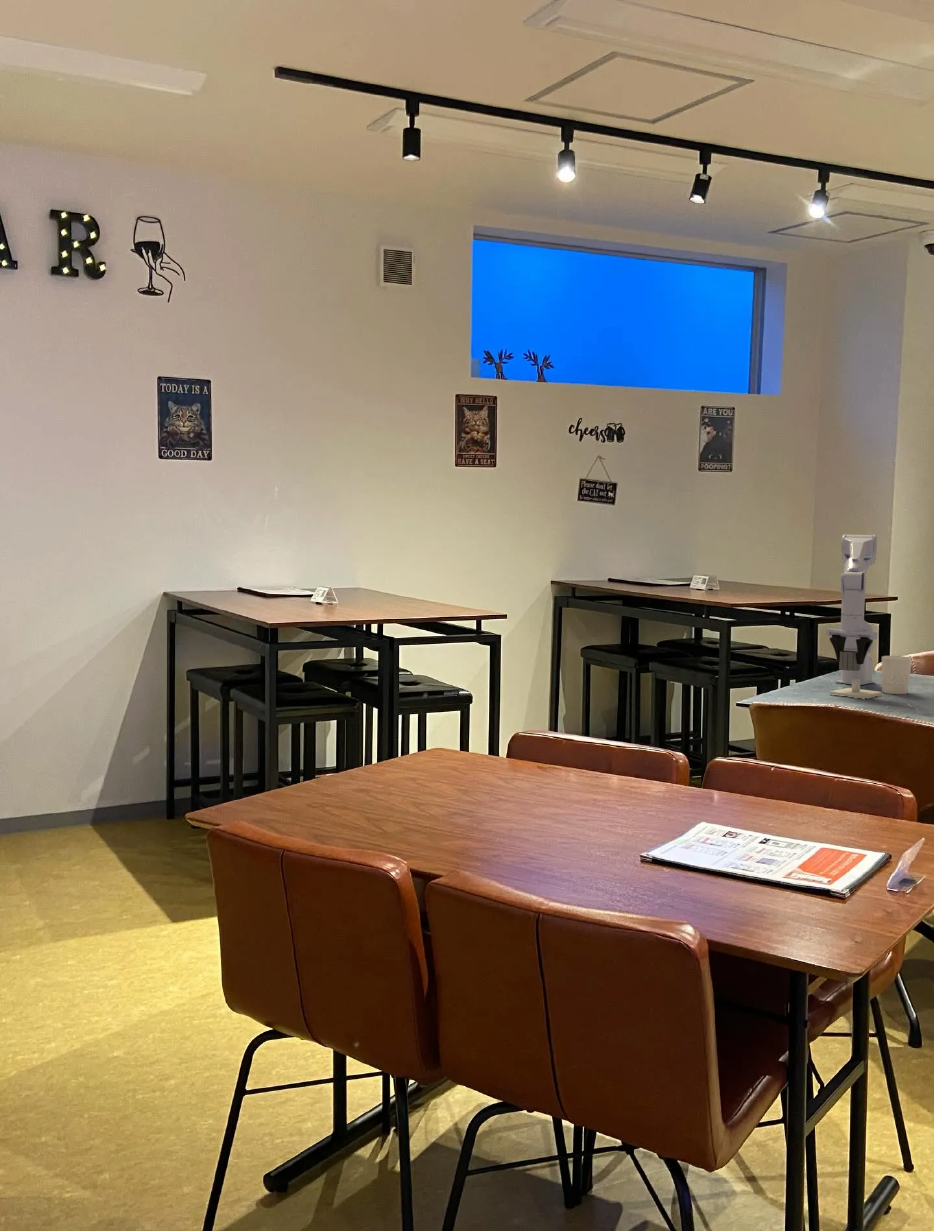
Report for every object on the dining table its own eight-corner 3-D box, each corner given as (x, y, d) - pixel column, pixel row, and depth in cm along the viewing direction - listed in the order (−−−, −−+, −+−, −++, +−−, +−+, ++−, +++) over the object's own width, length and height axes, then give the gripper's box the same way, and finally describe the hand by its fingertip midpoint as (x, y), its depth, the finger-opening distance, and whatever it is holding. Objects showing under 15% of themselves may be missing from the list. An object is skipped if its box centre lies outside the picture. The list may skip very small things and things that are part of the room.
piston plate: (848, 691, 340) (848, 675, 339) (881, 695, 332) (881, 679, 332) (829, 695, 333) (830, 678, 332) (863, 699, 325) (863, 683, 325)
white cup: (889, 689, 343) (891, 655, 342) (915, 693, 337) (916, 657, 336) (874, 692, 338) (876, 657, 337) (900, 695, 332) (901, 660, 331)
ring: (845, 667, 339) (846, 649, 339) (863, 669, 335) (864, 651, 335) (835, 669, 335) (836, 651, 335) (854, 671, 331) (854, 653, 331)
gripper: (821, 613, 336) (819, 661, 338) (868, 617, 326) (867, 666, 327) (834, 612, 341) (832, 659, 342) (881, 615, 331) (879, 664, 332)
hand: (850, 663), depth 335 cm, fingers closed on ring, 6 cm apart
